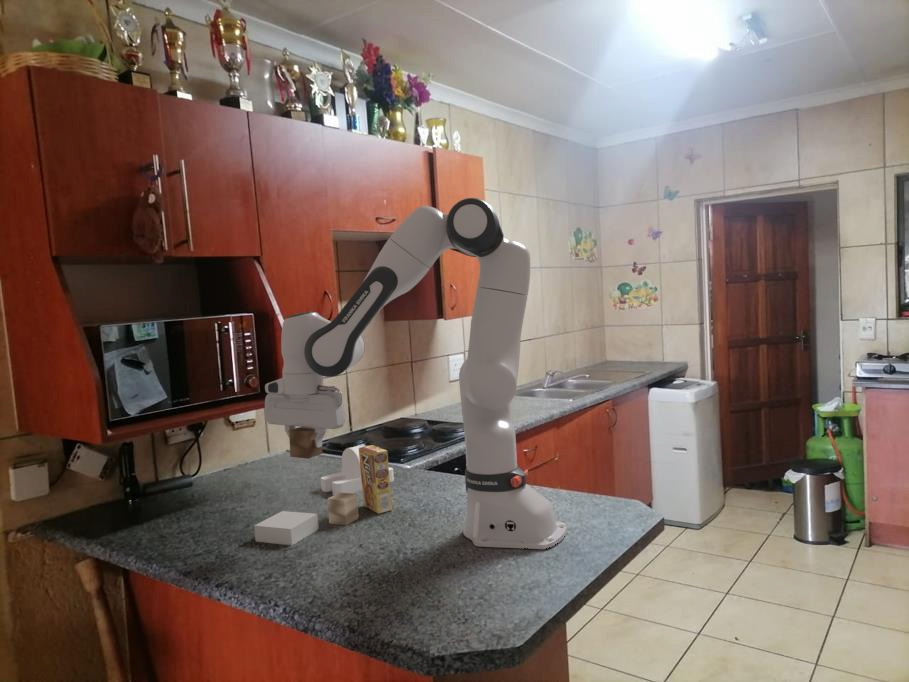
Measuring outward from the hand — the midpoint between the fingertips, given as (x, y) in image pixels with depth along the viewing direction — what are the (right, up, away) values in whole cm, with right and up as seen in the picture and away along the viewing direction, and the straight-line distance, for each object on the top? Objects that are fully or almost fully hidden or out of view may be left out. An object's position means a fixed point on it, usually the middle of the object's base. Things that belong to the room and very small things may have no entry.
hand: (305, 445), depth 146 cm
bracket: (+6, -18, +40) cm, 44 cm away
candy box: (+14, -19, +18) cm, 29 cm away
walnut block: (0, -2, 0) cm, 2 cm away
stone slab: (-5, -21, +3) cm, 22 cm away
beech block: (+7, -20, +10) cm, 23 cm away
